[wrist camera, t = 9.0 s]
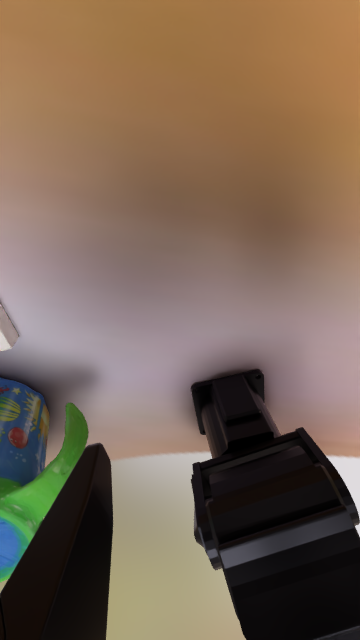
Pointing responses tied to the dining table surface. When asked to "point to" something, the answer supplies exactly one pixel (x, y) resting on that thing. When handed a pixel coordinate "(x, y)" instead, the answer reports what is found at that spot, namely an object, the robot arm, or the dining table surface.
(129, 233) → the dining table surface
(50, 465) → the snack cup
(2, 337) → the white square base
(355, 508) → the robot arm
